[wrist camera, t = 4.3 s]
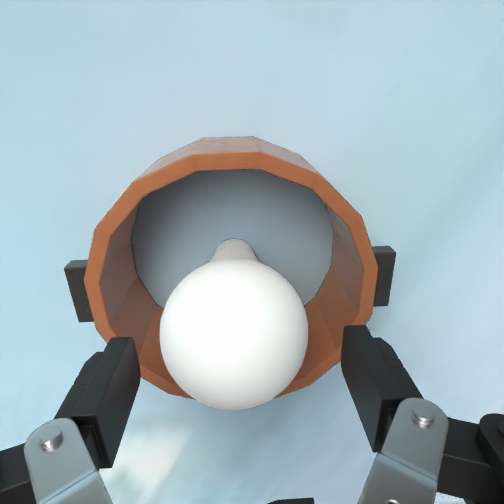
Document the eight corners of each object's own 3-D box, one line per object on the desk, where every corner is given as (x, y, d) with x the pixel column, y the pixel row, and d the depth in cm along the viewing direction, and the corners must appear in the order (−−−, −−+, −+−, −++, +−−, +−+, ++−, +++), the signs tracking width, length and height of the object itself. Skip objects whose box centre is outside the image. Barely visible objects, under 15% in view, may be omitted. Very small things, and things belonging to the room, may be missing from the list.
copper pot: (121, 347, 24) (93, 412, 19) (74, 142, 19) (17, 160, 14) (353, 334, 25) (383, 394, 20) (376, 131, 19) (426, 145, 14)
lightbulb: (194, 299, 23) (165, 456, 13) (175, 212, 21) (121, 323, 11) (286, 288, 23) (326, 436, 13) (278, 199, 21) (321, 298, 11)
